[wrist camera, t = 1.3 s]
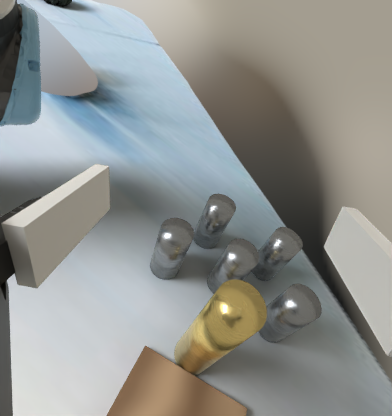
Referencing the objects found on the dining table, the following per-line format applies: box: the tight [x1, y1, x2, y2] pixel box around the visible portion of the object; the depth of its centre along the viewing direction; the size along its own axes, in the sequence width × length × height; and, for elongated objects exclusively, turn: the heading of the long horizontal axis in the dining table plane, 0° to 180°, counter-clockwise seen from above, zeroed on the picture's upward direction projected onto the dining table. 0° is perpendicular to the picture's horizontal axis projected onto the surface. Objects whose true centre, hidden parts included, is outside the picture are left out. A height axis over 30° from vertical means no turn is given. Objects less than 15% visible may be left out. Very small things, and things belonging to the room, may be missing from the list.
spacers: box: [150, 194, 322, 342], centre depth 34 cm, size 20×12×8 cm, turn 66°
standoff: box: [174, 279, 267, 375], centre depth 23 cm, size 4×4×14 cm
